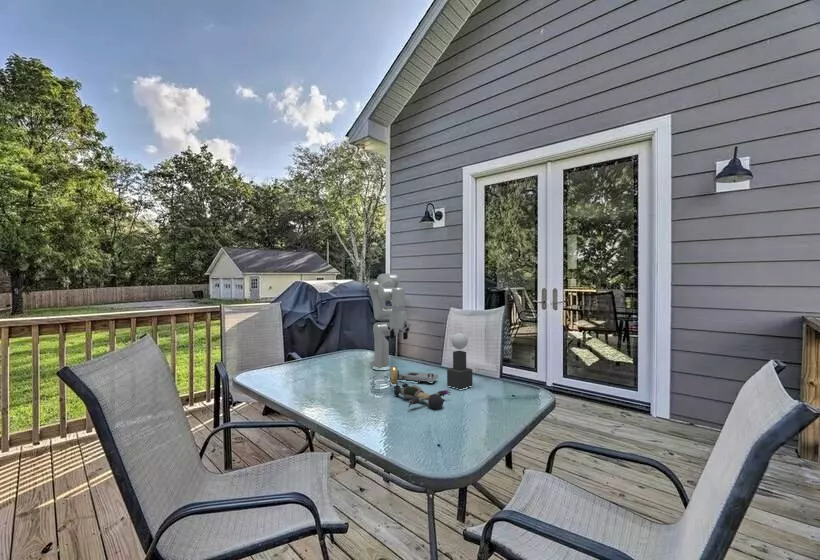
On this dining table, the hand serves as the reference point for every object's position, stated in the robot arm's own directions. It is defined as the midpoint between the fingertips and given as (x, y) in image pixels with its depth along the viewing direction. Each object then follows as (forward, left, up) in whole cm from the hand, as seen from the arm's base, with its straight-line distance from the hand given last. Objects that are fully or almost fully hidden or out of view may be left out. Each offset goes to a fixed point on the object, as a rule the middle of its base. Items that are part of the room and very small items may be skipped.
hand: (398, 338), depth 213 cm
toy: (+22, -27, -26) cm, 44 cm away
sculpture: (+34, +5, -26) cm, 44 cm away
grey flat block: (+5, +8, -26) cm, 28 cm away
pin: (-2, -4, -26) cm, 26 cm away
